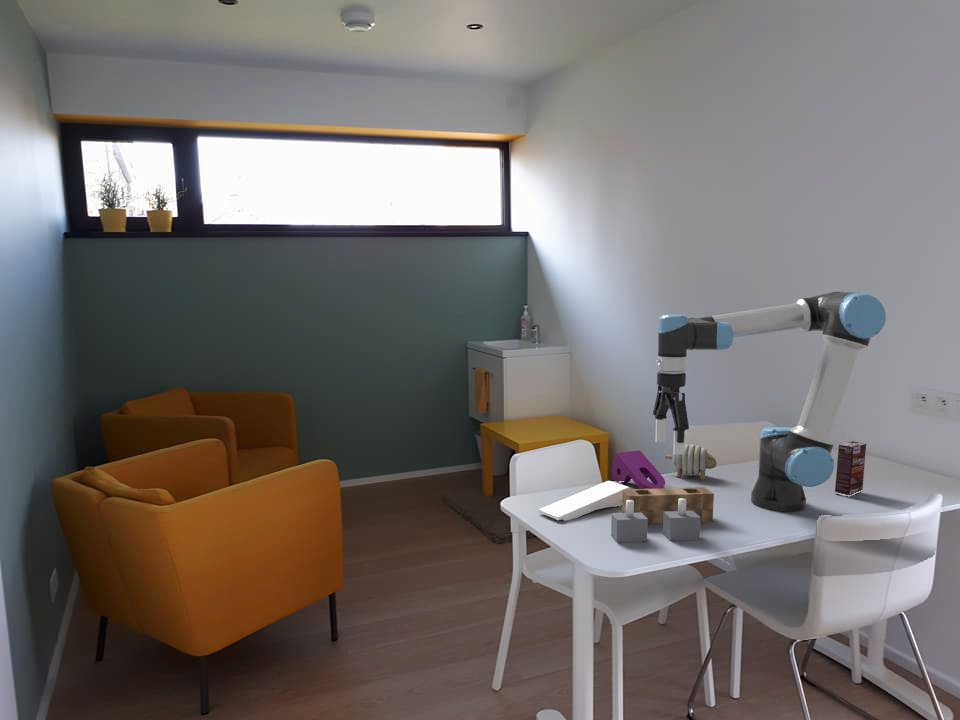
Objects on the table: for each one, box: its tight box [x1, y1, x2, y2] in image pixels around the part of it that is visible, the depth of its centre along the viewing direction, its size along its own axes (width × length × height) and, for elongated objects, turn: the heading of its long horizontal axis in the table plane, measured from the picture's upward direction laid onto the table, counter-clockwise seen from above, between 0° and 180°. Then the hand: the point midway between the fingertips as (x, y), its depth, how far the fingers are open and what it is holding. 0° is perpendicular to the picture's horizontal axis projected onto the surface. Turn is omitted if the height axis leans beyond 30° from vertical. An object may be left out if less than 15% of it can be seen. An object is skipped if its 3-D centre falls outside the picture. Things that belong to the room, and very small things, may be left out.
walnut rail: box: [621, 486, 715, 525], centre depth 200 cm, size 24×6×8 cm, turn 96°
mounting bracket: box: [611, 450, 666, 489], centre depth 233 cm, size 10×8×18 cm
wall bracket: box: [538, 480, 630, 522], centre depth 209 cm, size 10×7×28 cm
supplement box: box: [834, 440, 867, 495], centre depth 223 cm, size 9×5×16 cm, turn 126°
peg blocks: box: [610, 498, 701, 543], centre depth 187 cm, size 22×5×10 cm, turn 96°
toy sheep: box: [664, 443, 717, 481], centre depth 242 cm, size 11×17×11 cm, turn 70°
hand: (669, 448), depth 198 cm, fingers open, 13 cm apart
